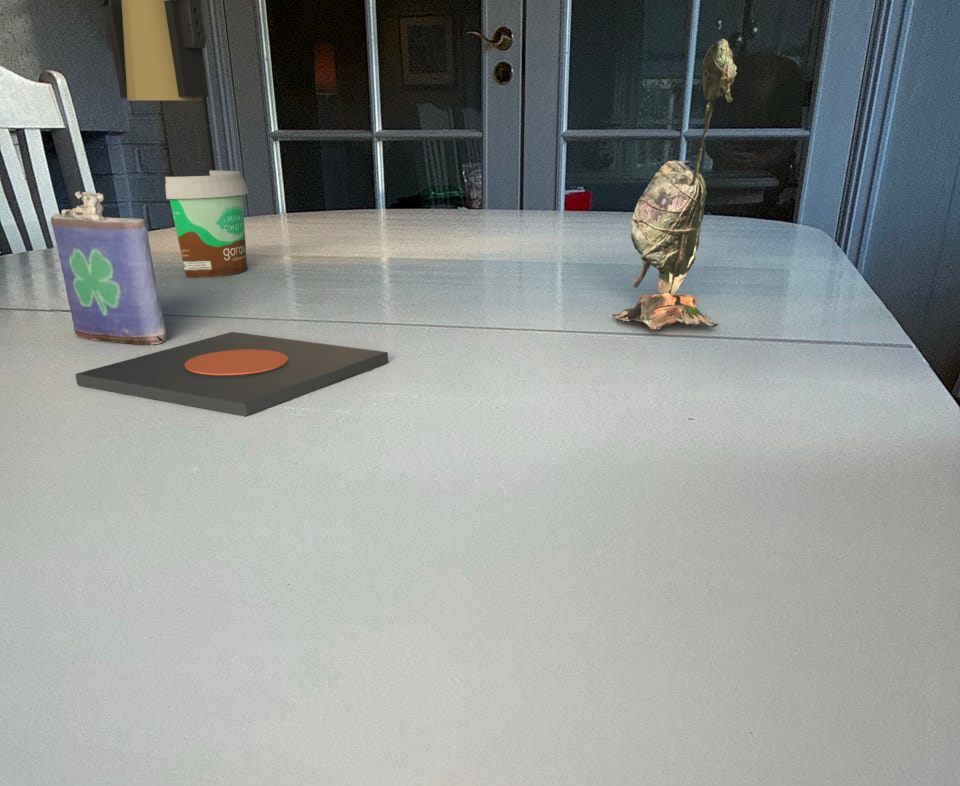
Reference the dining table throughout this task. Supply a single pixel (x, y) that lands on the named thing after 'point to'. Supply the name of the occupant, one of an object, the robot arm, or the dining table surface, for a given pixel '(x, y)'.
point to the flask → (108, 274)
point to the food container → (209, 222)
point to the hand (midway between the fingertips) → (164, 96)
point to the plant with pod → (676, 216)
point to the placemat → (233, 372)
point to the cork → (149, 52)
